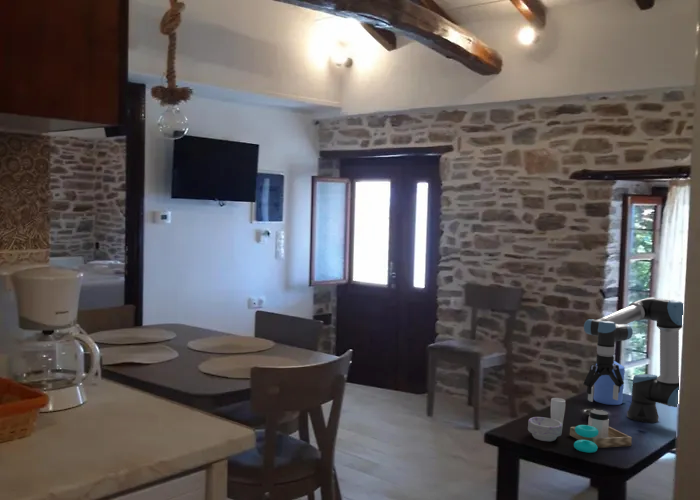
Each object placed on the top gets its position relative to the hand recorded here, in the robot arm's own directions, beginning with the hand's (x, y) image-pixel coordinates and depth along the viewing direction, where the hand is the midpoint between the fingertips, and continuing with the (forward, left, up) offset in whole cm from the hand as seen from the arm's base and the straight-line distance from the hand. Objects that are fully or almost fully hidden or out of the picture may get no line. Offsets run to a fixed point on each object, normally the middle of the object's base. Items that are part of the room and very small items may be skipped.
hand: (602, 400), depth 312 cm
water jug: (-50, -60, -19) cm, 80 cm away
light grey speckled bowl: (+25, -7, -19) cm, 32 cm away
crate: (0, 0, -19) cm, 19 cm away
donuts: (+15, +10, -19) cm, 26 cm away
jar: (+1, -1, -18) cm, 18 cm away
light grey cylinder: (+12, -17, -19) cm, 28 cm away
